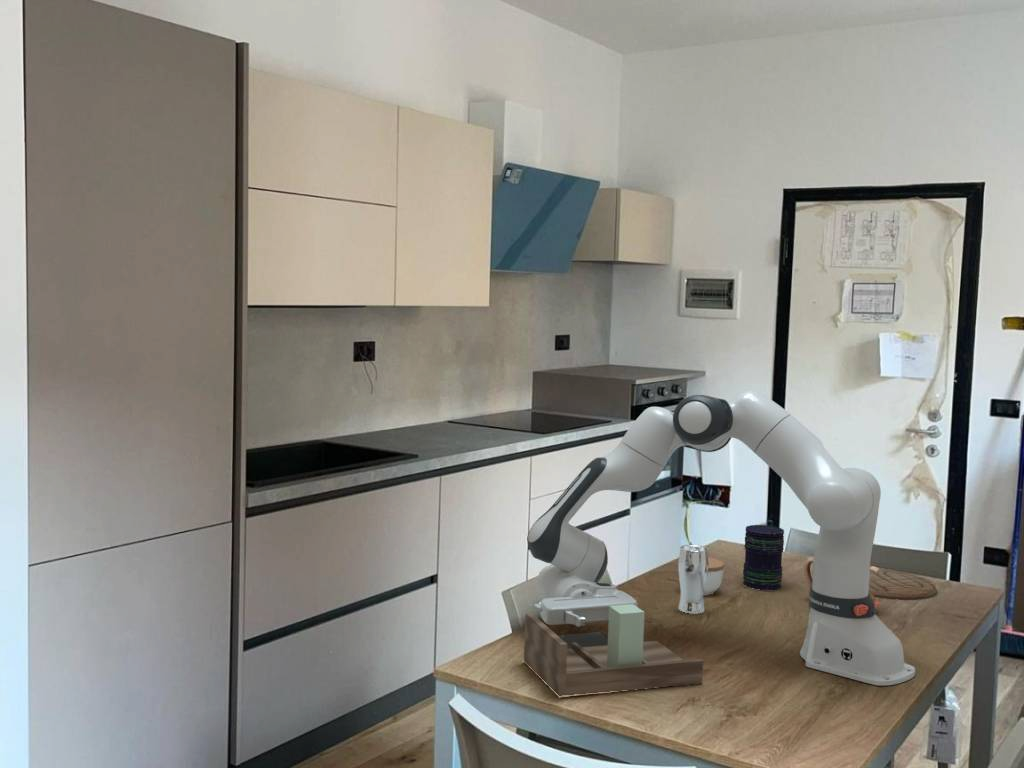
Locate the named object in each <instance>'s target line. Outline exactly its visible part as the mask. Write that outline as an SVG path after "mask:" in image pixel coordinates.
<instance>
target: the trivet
mask: <svg viewBox="0 0 1024 768" xmlns="http://www.w3.org/2000/svg"><path fill="white" fill-rule="evenodd" d="M877 568H878V569H879V571H878V572H877V573H874V572H870V577H869V589H870V590H871V592H872V593H873V595H874V597H875V598H877V597H879V598H878V599H885V598H886V600H895V599H899V600H898V601H901V600H902V601H919V600H926V599H930V598H933V597H934V596H935V595H936V594H937V585H936V583H934V582H933V581H932V580H930V579H929V578H925V577H923V576H920V575H919V574H918V575H917V574H913V573H910V572H906V571H900V570H894V569H887V568H879V567H877ZM929 597H930V598H929ZM925 598H926V599H925ZM918 599H919V600H918Z"/></svg>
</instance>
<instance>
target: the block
mask: <svg viewBox="0 0 1024 768" xmlns="http://www.w3.org/2000/svg"><path fill="white" fill-rule="evenodd" d="M607 625H608V628H607V639H608V649H607V667H616V666H626V665H637V664H642V661H643V642H644V634H645V611H644V610H642V609H641V608H640V607H638V606H637V607H636V606H635V605H633V604H629V605H616V606H609V621H608V624H607Z"/></svg>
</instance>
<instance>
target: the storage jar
mask: <svg viewBox="0 0 1024 768" xmlns="http://www.w3.org/2000/svg"><path fill="white" fill-rule="evenodd" d="M784 534H785V530H784V529H783V528H781V527H779V526H773V525H767V524H765V525H764V524H750V525H747V526H745V537H744V546H743V547H744V550H745V555H744V563H743V569H742V576H743V577H742V578H743V581H742V585H743V584H744V585H746V586H747V587H750V588H754V589H760V590H777V589H780V588H781V589H782V584H781V583H782V580H783V566H782V561H783V560H782V557H783V553H784V550H785V548H784V545H785V538H784V537H785V536H784ZM744 585H743V586H744ZM747 587H746V588H747ZM781 589H780V590H781ZM777 591H778V590H777Z"/></svg>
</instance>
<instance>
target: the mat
mask: <svg viewBox="0 0 1024 768" xmlns="http://www.w3.org/2000/svg"><path fill="white" fill-rule="evenodd" d="M556 635H557V636H558V634H556ZM559 635H560V636H558V637H560V638H561V639H562V640H563V641H564V642H565V643H566V644H567V649H569V648H572V642H576V643H577V644H579V645H580V646H581V647H592V646H603V645H608V637H606V636H605V635H603V634H602V633H601V632H599V631H593V632H582V633H572V634H571V633H569V634H559ZM561 635H562V636H563V637H562V636H561Z"/></svg>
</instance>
